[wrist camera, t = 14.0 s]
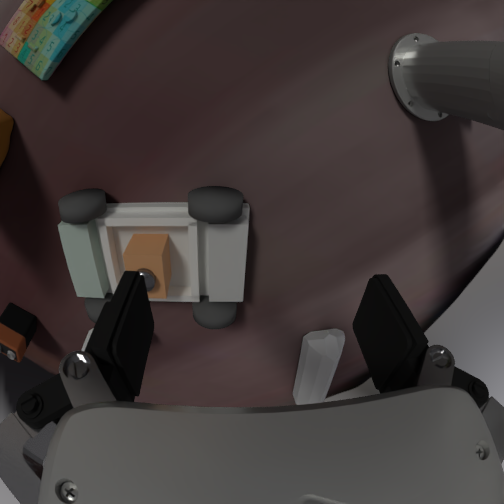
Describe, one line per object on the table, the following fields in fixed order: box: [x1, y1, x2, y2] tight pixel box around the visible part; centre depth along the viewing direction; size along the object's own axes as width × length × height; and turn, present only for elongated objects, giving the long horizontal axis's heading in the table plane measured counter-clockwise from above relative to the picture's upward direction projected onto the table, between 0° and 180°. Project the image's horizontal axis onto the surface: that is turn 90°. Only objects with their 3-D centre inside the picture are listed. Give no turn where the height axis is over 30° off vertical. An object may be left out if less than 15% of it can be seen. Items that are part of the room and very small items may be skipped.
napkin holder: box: [81, 328, 94, 351], centre depth 41 cm, size 15×11×6 cm
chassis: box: [58, 186, 250, 329], centre depth 34 cm, size 24×17×6 cm
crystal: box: [293, 328, 345, 405], centre depth 51 cm, size 7×7×24 cm
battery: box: [0, 303, 36, 362], centre depth 36 cm, size 4×7×10 cm, turn 60°
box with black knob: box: [123, 234, 172, 299], centre depth 33 cm, size 6×4×6 cm
